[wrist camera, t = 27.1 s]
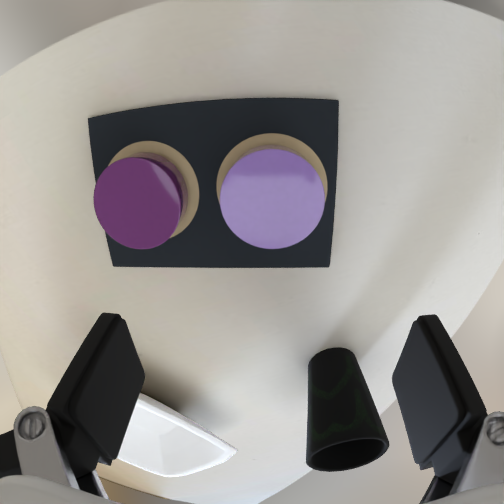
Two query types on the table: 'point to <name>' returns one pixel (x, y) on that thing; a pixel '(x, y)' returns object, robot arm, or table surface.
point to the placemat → (221, 172)
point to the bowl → (169, 441)
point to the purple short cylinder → (141, 200)
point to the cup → (341, 414)
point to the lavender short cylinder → (272, 197)
